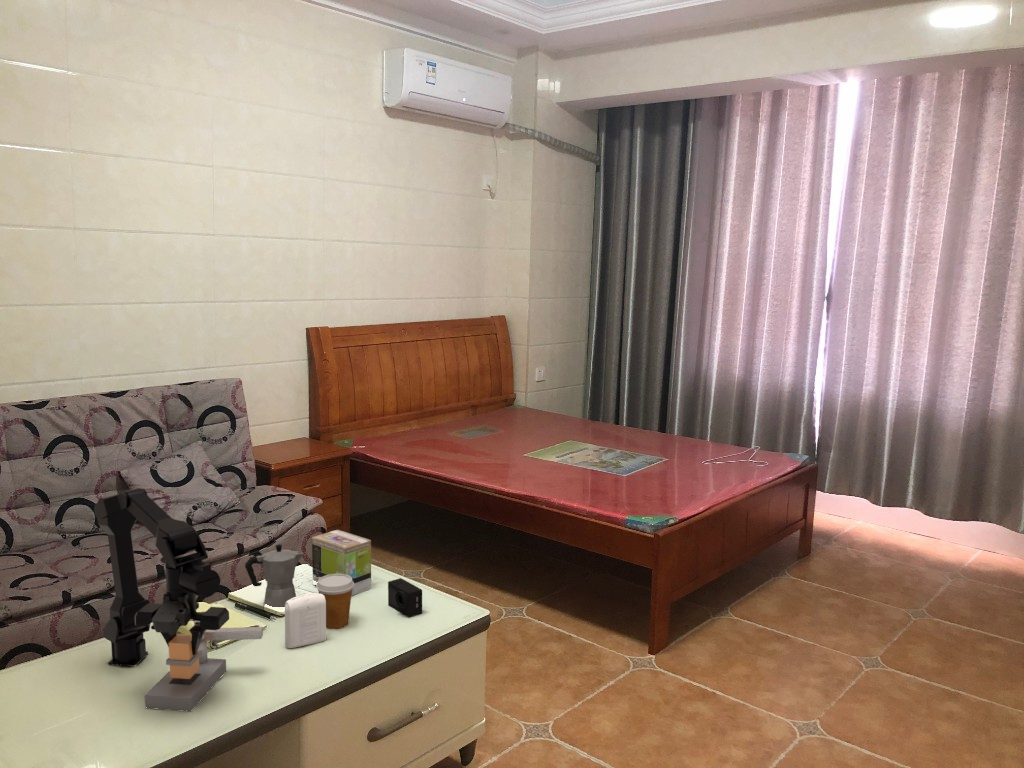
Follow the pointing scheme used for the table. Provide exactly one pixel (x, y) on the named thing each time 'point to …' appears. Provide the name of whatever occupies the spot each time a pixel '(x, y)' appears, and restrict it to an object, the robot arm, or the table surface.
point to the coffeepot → (276, 574)
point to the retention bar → (233, 633)
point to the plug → (182, 657)
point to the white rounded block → (305, 620)
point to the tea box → (343, 558)
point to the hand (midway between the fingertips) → (184, 653)
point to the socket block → (186, 685)
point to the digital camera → (405, 597)
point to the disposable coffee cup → (336, 598)
